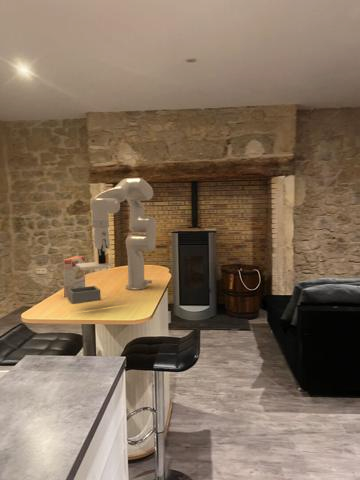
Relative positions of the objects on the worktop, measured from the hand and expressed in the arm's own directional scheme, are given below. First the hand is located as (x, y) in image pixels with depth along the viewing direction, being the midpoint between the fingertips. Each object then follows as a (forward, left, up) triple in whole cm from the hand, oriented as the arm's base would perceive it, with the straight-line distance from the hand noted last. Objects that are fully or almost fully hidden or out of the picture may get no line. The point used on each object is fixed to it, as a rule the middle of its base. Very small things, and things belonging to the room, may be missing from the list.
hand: (101, 263), depth 168 cm
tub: (+5, -16, -21) cm, 27 cm away
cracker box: (+7, -30, -22) cm, 37 cm away
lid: (+4, 0, -2) cm, 4 cm away
